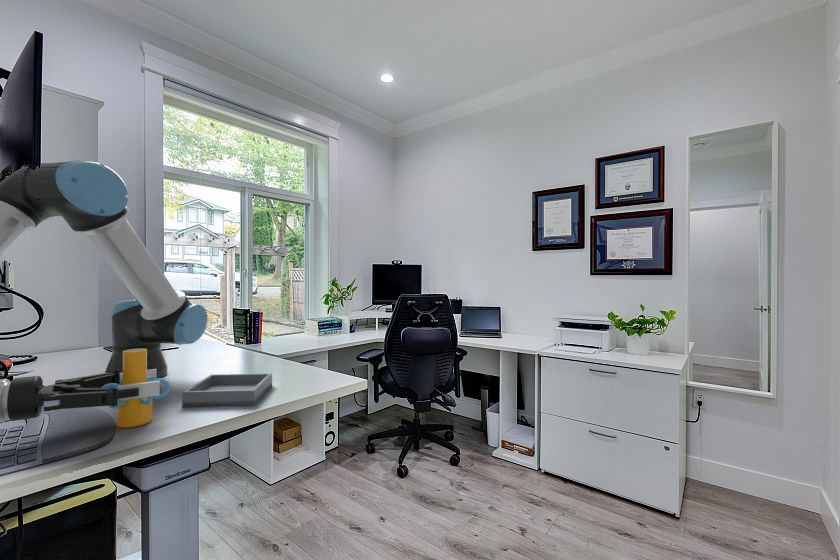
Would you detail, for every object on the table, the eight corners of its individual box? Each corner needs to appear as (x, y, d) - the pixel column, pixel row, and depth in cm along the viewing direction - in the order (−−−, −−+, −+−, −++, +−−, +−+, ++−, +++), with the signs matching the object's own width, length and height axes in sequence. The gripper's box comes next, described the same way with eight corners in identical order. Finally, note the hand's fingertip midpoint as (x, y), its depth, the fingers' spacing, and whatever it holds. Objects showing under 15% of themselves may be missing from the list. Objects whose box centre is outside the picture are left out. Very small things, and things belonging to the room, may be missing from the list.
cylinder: (172, 410, 87) (172, 344, 87) (167, 426, 78) (167, 352, 78) (103, 419, 82) (103, 348, 82) (90, 437, 73) (90, 357, 72)
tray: (211, 387, 105) (211, 374, 105) (272, 386, 107) (272, 373, 107) (182, 407, 90) (182, 392, 90) (254, 405, 91) (254, 390, 91)
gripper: (24, 403, 79) (155, 385, 92) (-10, 444, 60) (161, 414, 73) (24, 366, 79) (155, 354, 92) (-10, 395, 60) (161, 375, 73)
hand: (157, 381), depth 82 cm, fingers closed on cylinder, 11 cm apart
